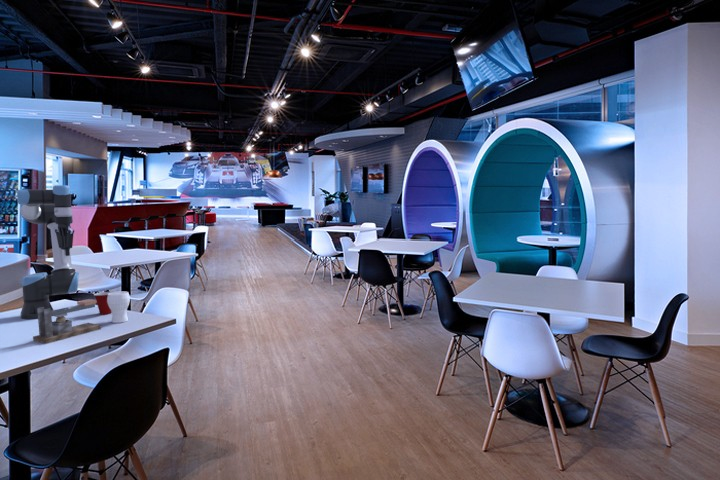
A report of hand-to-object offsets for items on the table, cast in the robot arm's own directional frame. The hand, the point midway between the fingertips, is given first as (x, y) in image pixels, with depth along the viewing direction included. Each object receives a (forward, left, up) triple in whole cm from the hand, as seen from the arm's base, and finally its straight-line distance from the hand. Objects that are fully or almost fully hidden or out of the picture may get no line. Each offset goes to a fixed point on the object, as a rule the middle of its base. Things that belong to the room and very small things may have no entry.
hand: (66, 262), depth 241 cm
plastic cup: (-4, +22, -33) cm, 40 cm away
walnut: (+18, -15, -24) cm, 34 cm away
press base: (+18, -12, -32) cm, 39 cm away
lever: (+18, -11, -22) cm, 31 cm away
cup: (+18, +15, -33) cm, 40 cm away
